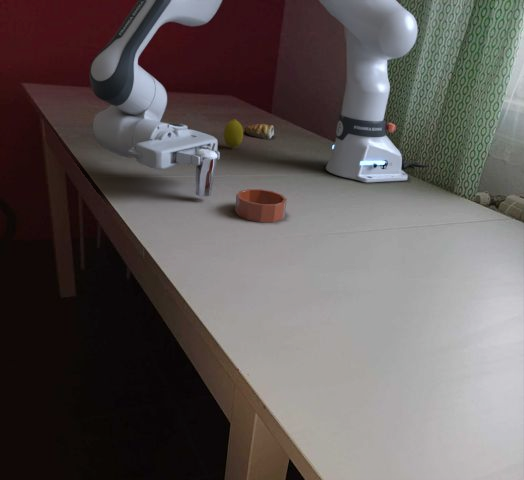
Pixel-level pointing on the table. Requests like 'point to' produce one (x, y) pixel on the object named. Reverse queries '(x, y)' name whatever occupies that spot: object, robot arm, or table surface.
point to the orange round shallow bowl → (260, 205)
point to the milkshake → (205, 171)
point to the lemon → (233, 133)
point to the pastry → (260, 130)
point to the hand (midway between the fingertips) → (209, 158)
